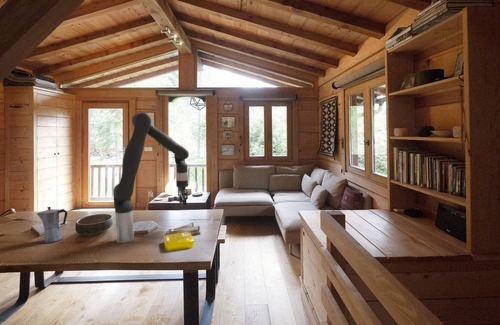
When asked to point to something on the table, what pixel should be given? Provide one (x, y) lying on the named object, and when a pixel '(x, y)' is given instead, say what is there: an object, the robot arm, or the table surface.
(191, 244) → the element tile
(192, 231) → the tong board
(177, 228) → the tong swing arm
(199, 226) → the tong fixed arm
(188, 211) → the table surface
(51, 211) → the moka pot
